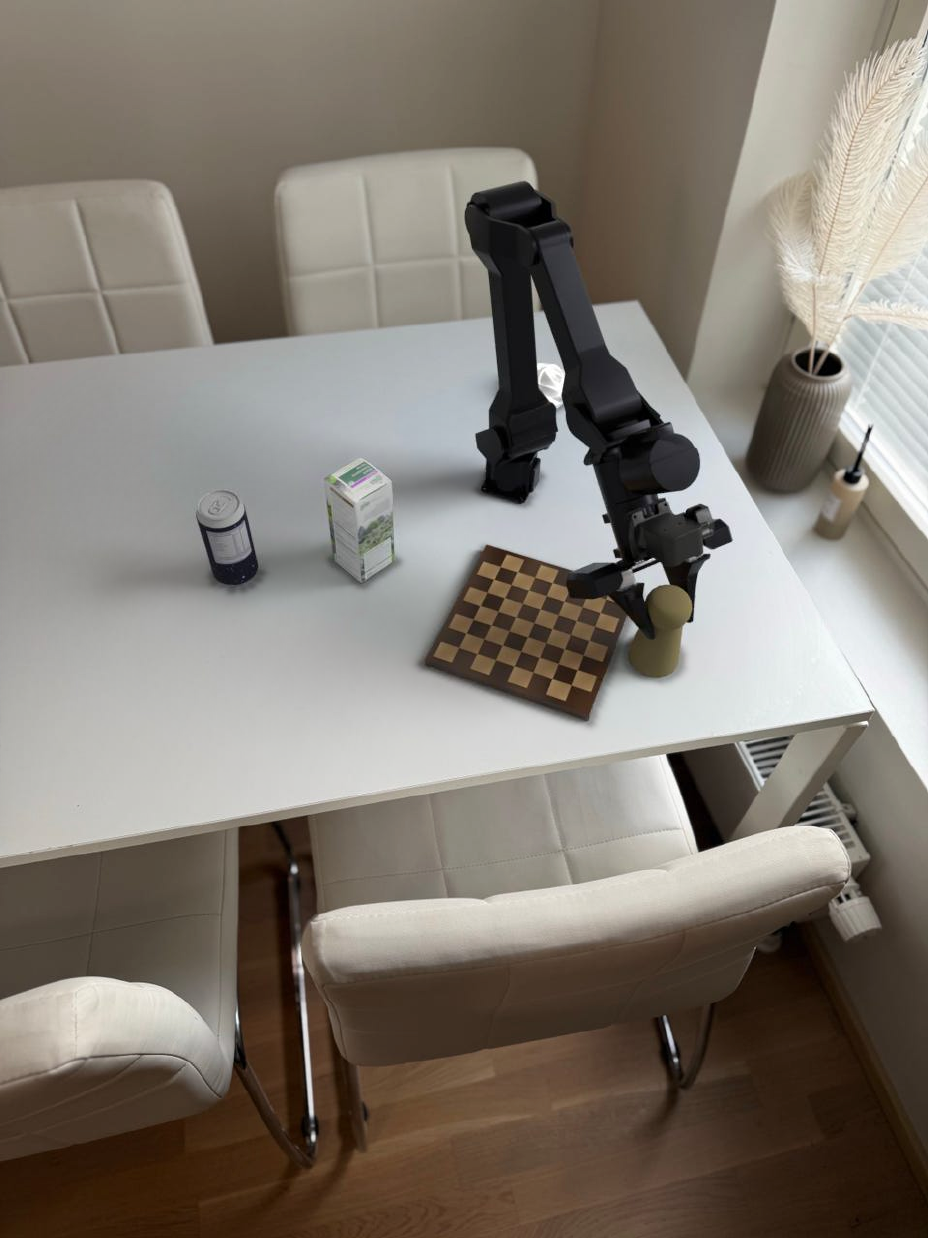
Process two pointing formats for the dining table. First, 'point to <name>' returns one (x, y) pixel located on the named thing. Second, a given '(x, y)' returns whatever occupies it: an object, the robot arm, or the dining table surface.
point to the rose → (551, 382)
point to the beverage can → (227, 537)
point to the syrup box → (360, 519)
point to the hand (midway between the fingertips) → (670, 630)
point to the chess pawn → (661, 632)
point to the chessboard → (529, 634)
